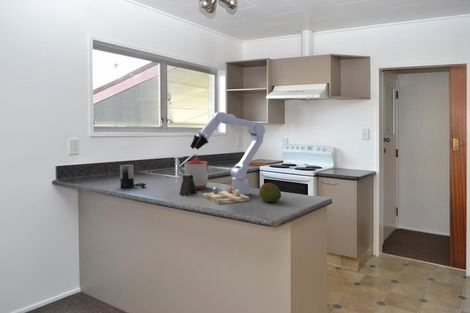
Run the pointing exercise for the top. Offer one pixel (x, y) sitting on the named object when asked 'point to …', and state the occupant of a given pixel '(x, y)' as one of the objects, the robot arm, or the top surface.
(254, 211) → the top surface
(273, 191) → the fruit
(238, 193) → the sage ball
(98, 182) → the top surface
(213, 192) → the steel ball
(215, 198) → the birch plate
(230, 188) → the terracotta ball
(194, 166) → the citrus juicer
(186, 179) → the door stopper
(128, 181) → the milk frother
